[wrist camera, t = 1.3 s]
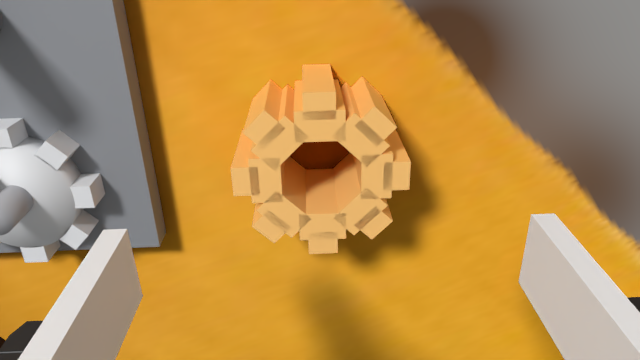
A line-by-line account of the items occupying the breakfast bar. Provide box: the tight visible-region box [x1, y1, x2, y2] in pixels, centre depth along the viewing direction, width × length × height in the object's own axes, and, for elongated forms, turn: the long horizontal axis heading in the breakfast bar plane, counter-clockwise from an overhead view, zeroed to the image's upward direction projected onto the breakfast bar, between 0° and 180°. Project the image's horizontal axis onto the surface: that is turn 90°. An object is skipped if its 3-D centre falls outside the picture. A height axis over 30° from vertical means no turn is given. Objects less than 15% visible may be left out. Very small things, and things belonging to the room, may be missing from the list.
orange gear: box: [231, 64, 411, 254], centre depth 25 cm, size 8×8×5 cm
